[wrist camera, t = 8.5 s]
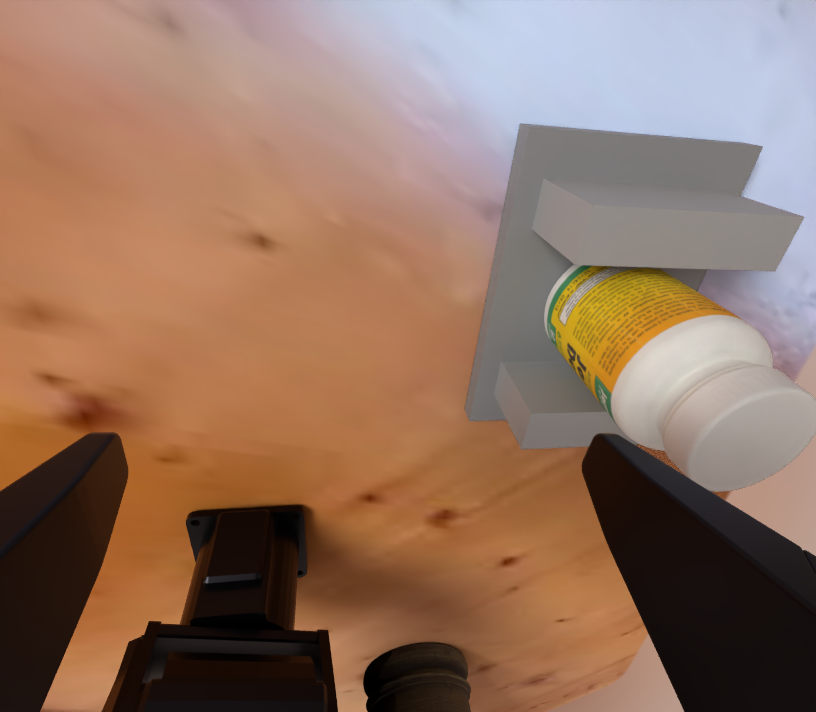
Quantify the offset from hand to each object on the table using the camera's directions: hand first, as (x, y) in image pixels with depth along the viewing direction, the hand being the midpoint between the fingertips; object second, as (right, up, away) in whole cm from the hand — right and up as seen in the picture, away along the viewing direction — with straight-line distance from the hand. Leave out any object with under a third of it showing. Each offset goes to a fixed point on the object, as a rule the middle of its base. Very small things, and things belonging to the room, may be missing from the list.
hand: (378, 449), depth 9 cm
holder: (+9, +5, +13) cm, 17 cm away
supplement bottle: (+9, +4, +13) cm, 16 cm away
